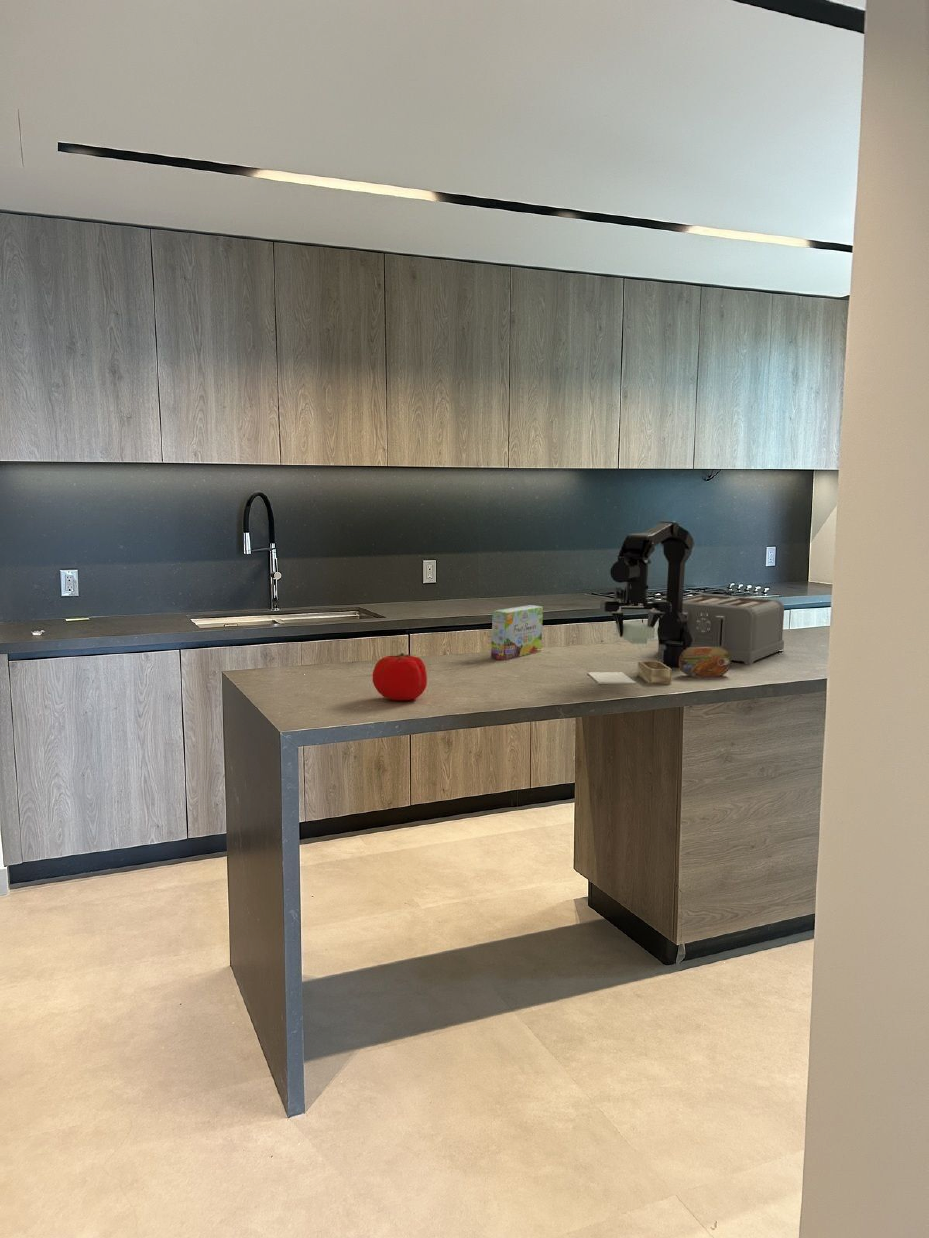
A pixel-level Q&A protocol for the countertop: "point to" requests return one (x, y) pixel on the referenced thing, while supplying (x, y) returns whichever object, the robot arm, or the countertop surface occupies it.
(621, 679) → the mat
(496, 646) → the snack box
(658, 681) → the crate
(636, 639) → the pale green block
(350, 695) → the countertop surface
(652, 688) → the countertop surface
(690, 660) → the tin
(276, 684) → the countertop surface
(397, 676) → the tomato
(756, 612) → the toaster
